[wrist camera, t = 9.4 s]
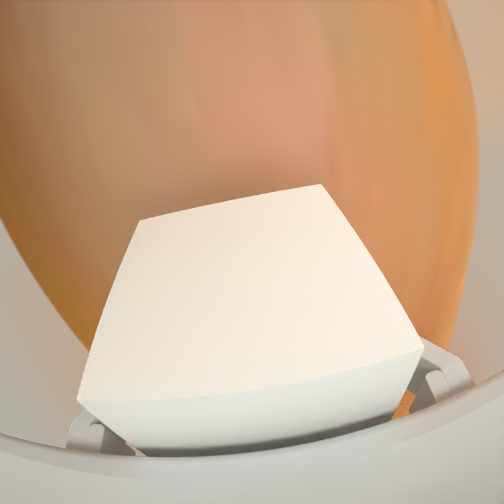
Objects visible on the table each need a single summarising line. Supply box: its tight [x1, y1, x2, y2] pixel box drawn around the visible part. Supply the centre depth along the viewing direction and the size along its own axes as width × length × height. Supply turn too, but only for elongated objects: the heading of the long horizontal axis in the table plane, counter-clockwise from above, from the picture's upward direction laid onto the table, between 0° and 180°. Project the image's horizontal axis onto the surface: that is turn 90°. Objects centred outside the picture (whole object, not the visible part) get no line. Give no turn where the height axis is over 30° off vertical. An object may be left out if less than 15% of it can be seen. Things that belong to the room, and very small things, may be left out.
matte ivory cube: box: [76, 184, 425, 457], centre depth 10 cm, size 7×7×8 cm
